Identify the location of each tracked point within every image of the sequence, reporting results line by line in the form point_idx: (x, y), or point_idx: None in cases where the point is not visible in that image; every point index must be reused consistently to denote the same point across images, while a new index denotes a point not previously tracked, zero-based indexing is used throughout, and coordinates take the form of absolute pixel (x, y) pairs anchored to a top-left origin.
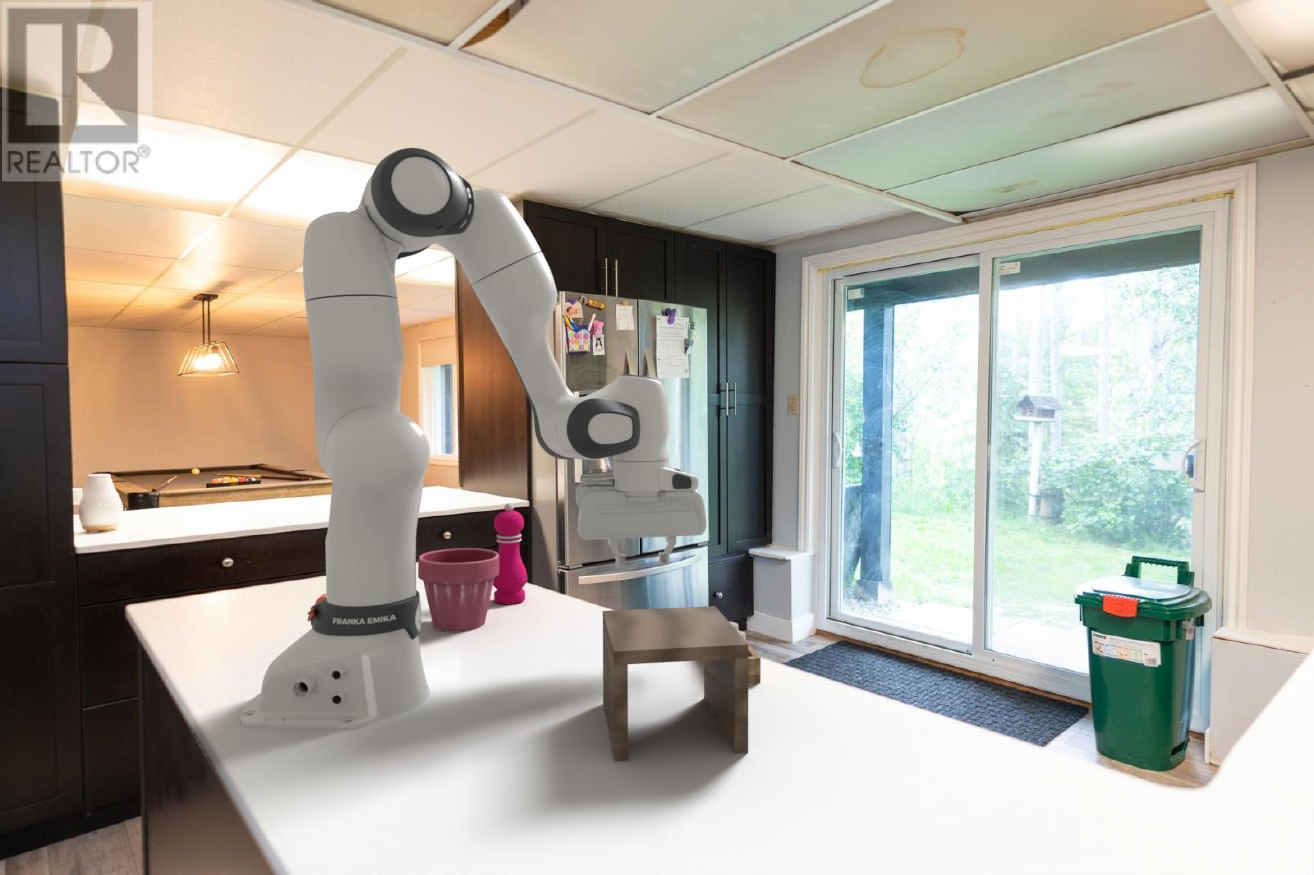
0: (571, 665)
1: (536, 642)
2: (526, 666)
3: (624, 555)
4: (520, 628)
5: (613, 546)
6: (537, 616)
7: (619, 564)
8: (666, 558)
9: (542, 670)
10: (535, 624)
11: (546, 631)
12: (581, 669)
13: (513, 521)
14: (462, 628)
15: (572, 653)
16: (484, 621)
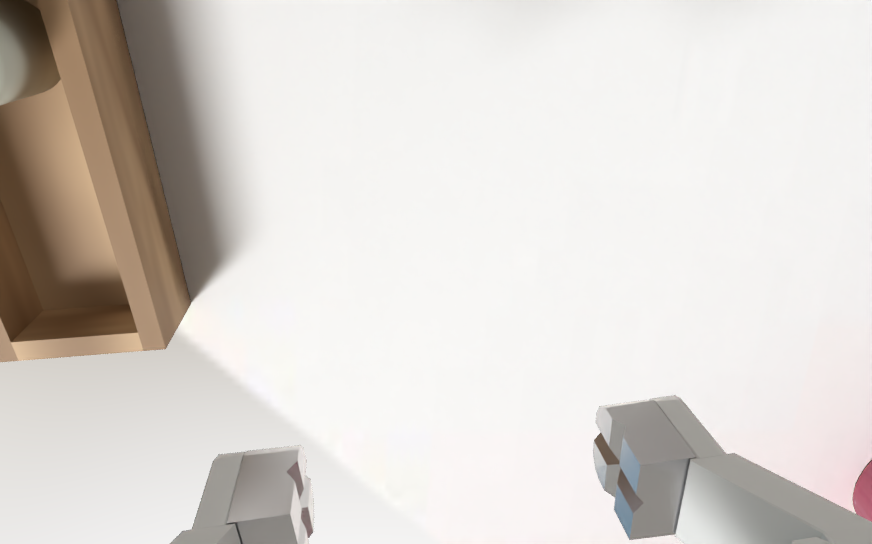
0: (677, 100)
1: (747, 333)
2: (829, 104)
3: (644, 486)
4: (767, 449)
5: (830, 525)
6: None
7: (661, 404)
8: (233, 488)
9: (786, 55)
10: None
11: None
12: (649, 52)
13: None
14: None
15: (653, 226)
16: (865, 482)
